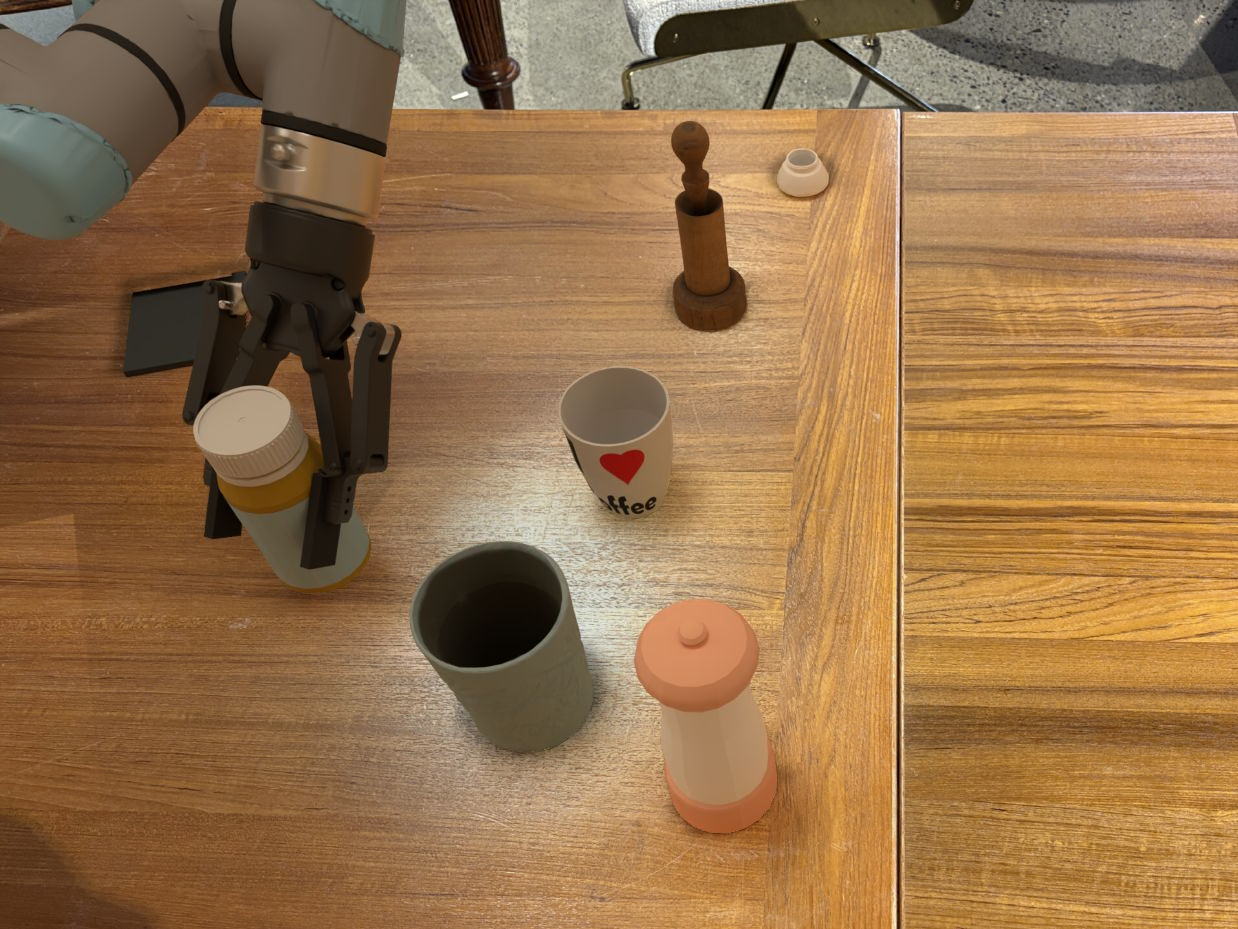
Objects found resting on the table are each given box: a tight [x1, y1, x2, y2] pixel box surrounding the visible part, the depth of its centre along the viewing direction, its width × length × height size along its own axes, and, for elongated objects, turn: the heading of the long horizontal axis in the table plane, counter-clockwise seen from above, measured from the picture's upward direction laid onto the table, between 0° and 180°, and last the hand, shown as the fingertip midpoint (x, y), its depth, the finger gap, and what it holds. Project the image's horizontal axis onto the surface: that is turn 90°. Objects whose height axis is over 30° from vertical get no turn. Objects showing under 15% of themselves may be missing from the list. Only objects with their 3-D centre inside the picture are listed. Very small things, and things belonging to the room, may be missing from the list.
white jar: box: [776, 147, 830, 198], centre depth 116 cm, size 5×3×5 cm
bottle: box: [192, 386, 373, 594], centre depth 83 cm, size 7×7×15 cm
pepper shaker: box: [633, 598, 778, 834], centre depth 73 cm, size 7×7×19 cm
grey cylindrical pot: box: [408, 540, 595, 753], centre depth 80 cm, size 10×10×12 cm
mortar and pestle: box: [670, 120, 748, 332], centre depth 100 cm, size 7×6×18 cm
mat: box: [122, 270, 247, 377], centre depth 107 cm, size 10×11×1 cm
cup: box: [557, 365, 674, 520], centre depth 91 cm, size 8×8×10 cm
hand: (269, 550), depth 82 cm, fingers closed on bottle, 7 cm apart
